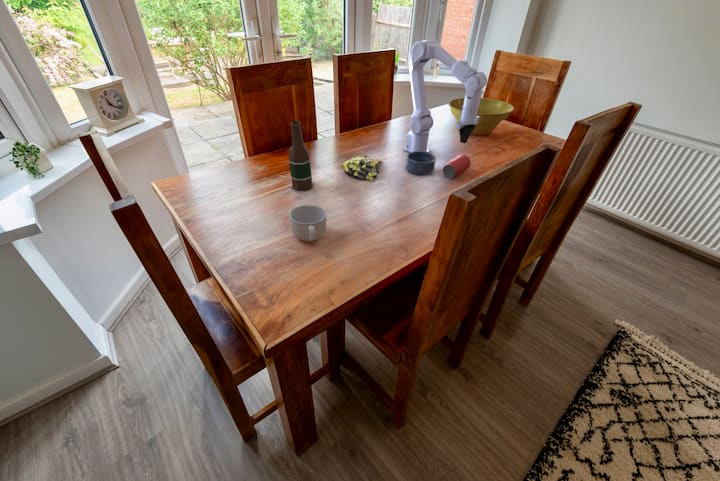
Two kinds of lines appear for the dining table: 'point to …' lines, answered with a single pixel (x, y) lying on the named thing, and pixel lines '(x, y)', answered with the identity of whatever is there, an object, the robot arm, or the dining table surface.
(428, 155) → the bowl
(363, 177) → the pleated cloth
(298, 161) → the beer bottle
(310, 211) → the teacup
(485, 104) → the planter bowl
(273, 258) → the dining table surface
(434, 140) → the dining table surface
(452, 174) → the beer can
